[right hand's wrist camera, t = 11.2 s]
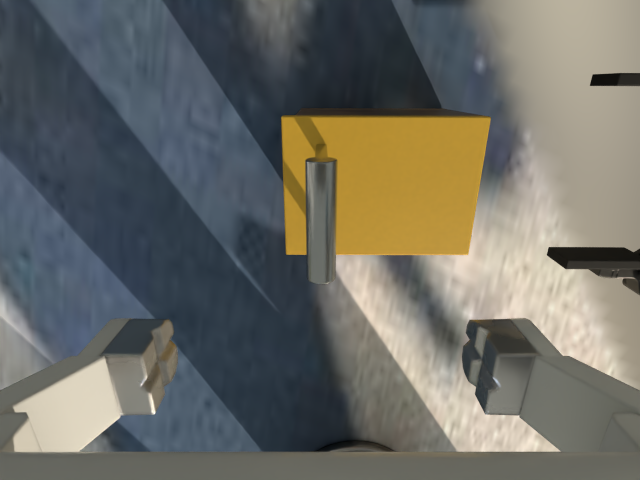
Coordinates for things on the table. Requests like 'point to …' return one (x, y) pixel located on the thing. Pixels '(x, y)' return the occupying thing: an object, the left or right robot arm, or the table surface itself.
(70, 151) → the table surface
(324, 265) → the lid
